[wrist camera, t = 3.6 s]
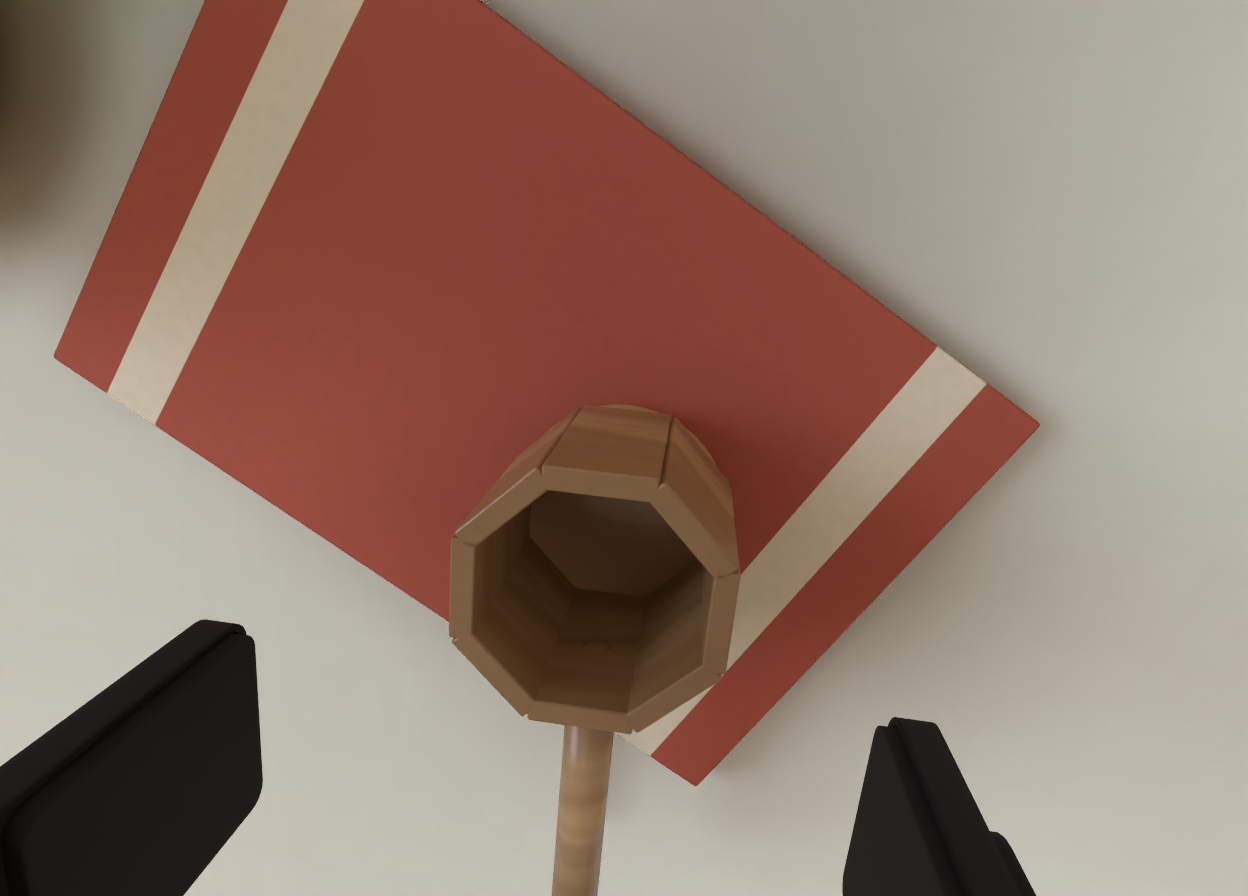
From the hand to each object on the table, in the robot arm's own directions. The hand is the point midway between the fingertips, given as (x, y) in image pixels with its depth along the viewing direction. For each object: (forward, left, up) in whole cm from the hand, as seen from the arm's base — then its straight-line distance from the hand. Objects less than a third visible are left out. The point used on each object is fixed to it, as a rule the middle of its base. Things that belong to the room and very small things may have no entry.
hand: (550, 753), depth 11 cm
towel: (-1, -4, -10) cm, 11 cm away
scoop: (+3, +2, -9) cm, 10 cm away
